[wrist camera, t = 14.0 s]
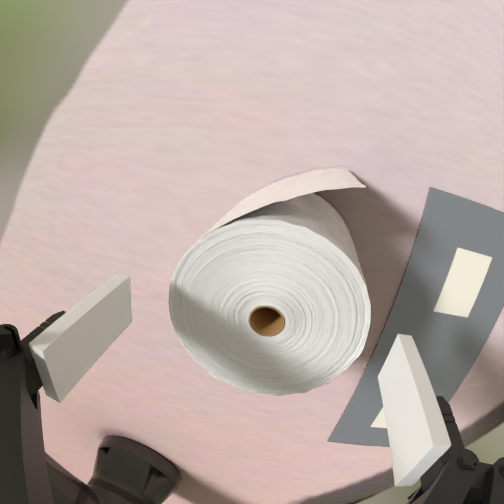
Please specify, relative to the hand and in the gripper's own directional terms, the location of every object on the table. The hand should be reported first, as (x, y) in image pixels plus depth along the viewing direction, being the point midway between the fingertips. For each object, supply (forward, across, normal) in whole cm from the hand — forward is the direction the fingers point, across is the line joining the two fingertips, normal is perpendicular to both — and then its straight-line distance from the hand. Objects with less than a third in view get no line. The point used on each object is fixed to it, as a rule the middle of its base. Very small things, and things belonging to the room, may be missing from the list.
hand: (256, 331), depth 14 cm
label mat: (+11, -16, +8) cm, 21 cm away
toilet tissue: (+12, 0, 0) cm, 12 cm away
